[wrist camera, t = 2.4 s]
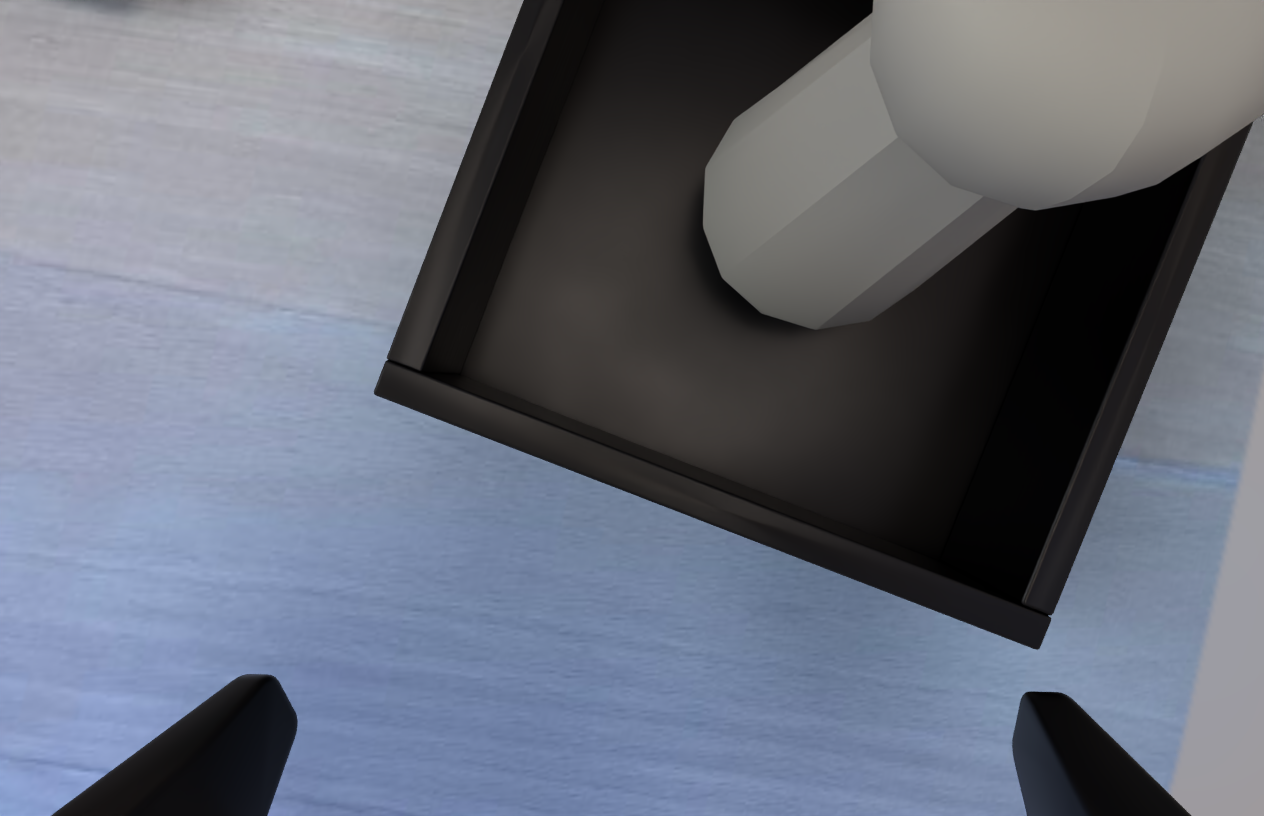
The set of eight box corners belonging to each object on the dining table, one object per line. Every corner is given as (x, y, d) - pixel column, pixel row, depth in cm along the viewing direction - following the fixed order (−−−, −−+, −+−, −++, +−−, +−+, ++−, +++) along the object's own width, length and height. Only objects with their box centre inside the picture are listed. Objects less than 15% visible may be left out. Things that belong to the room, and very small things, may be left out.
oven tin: (945, 592, 20) (1040, 651, 16) (425, 391, 20) (371, 393, 15) (1154, 73, 20) (1311, -15, 16) (633, -148, 20) (640, -305, 15)
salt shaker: (646, 232, 19) (719, -73, 6) (789, 73, 19) (1157, -558, 6) (805, 379, 20) (1186, 372, 7) (948, 222, 20) (1606, -90, 7)
